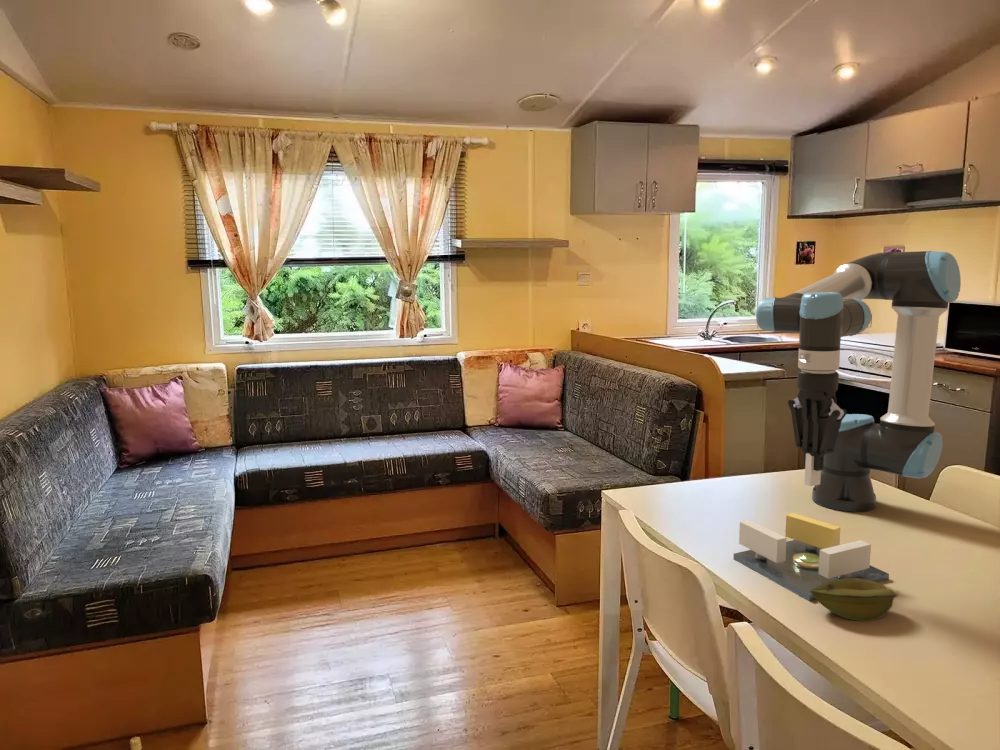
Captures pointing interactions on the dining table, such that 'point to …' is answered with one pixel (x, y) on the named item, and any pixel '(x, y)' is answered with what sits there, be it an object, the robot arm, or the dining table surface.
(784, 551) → the white crossbar plank
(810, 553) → the base
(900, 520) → the dining table surface
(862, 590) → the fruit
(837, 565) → the white brick piece
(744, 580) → the dining table surface
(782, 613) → the dining table surface
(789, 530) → the yellow lintel plank
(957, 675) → the dining table surface
